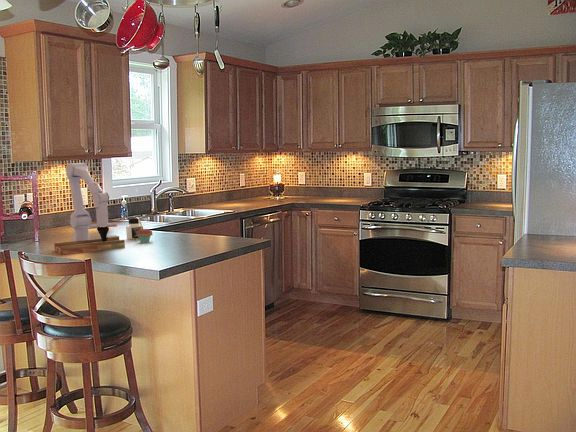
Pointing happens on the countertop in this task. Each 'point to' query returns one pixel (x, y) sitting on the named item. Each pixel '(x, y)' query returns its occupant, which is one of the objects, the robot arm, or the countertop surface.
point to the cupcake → (144, 234)
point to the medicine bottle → (133, 228)
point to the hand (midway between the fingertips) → (103, 241)
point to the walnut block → (112, 238)
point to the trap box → (87, 246)
